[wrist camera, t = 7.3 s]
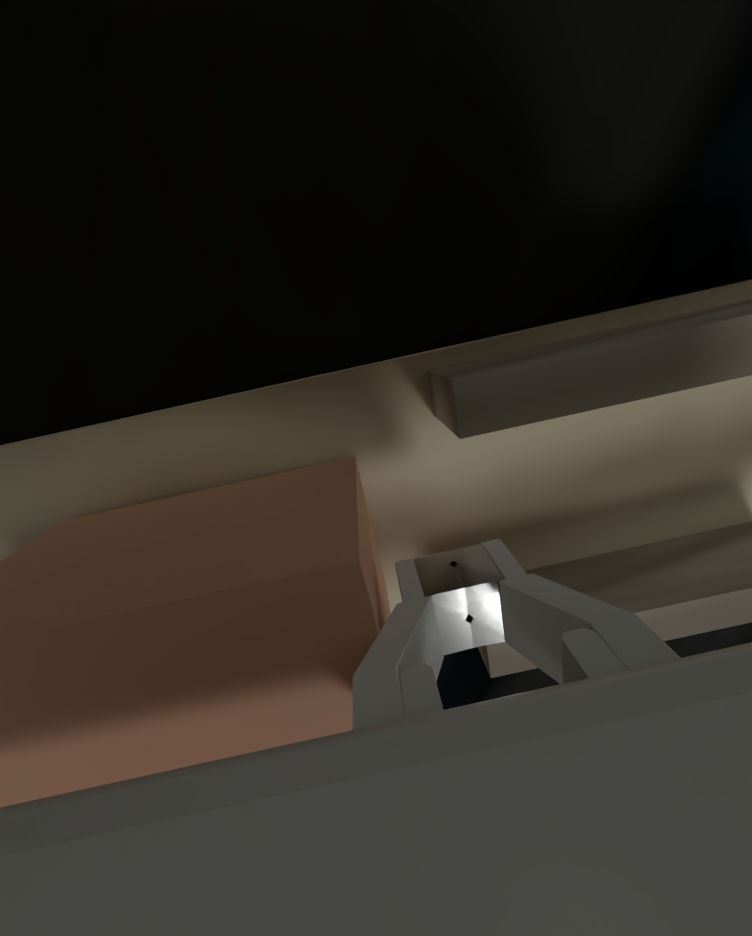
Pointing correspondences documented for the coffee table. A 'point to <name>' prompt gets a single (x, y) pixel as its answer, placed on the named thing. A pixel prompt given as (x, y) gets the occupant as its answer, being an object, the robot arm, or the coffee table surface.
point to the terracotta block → (186, 630)
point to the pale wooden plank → (482, 457)
